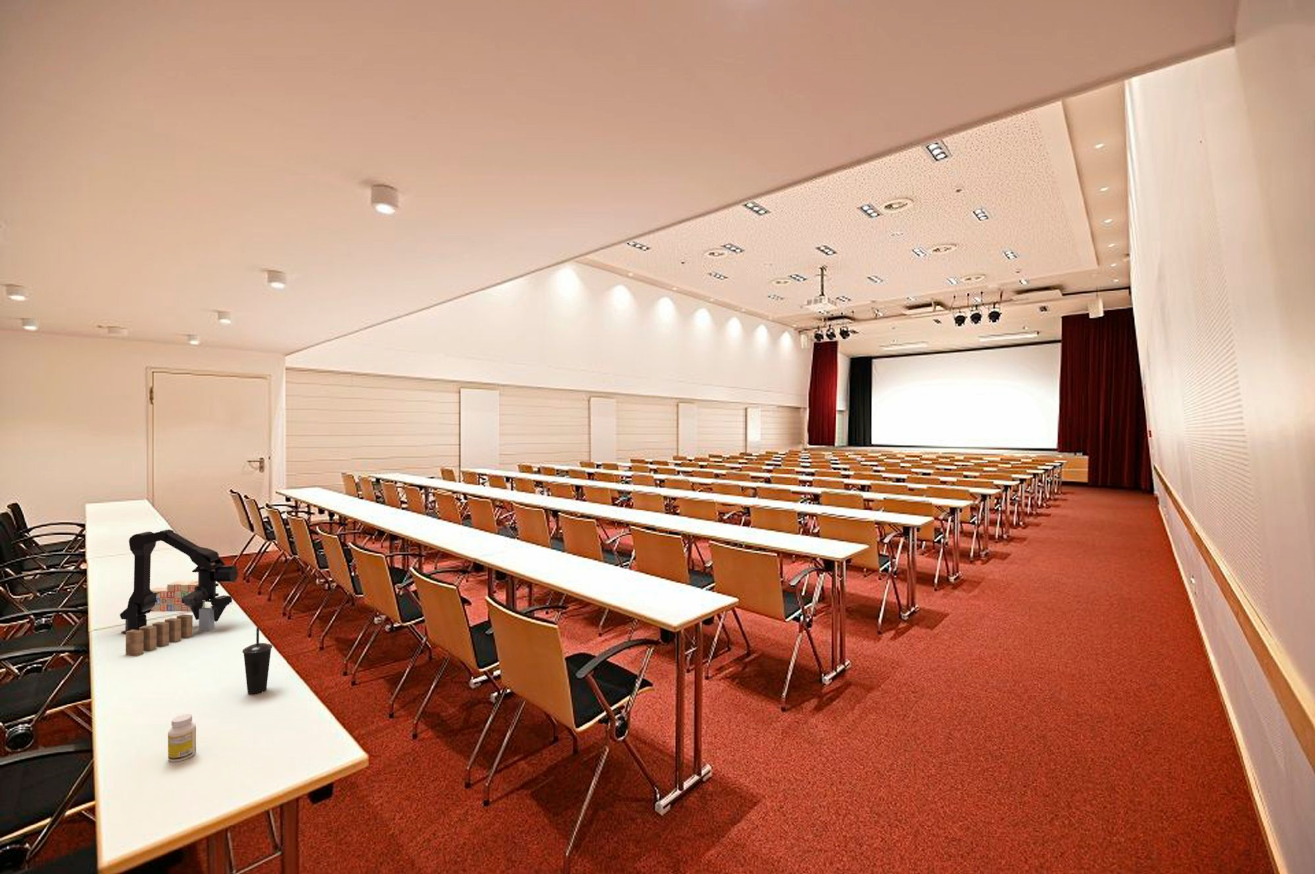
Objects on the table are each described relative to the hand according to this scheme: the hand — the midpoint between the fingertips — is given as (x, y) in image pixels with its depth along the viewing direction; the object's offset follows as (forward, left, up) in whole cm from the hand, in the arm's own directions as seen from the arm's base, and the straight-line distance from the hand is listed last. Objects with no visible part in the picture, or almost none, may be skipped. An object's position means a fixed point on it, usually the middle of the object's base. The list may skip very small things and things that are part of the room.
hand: (206, 620), depth 233 cm
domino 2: (0, -23, -4) cm, 23 cm away
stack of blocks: (-38, +18, -4) cm, 43 cm away
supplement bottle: (+81, -76, -4) cm, 111 cm away
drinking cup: (+68, -42, -4) cm, 80 cm away
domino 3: (0, -18, -4) cm, 18 cm away
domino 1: (0, -27, -4) cm, 27 cm away
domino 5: (0, -9, -4) cm, 10 cm away
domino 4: (0, -14, -4) cm, 14 cm away
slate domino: (0, 0, -4) cm, 4 cm away
